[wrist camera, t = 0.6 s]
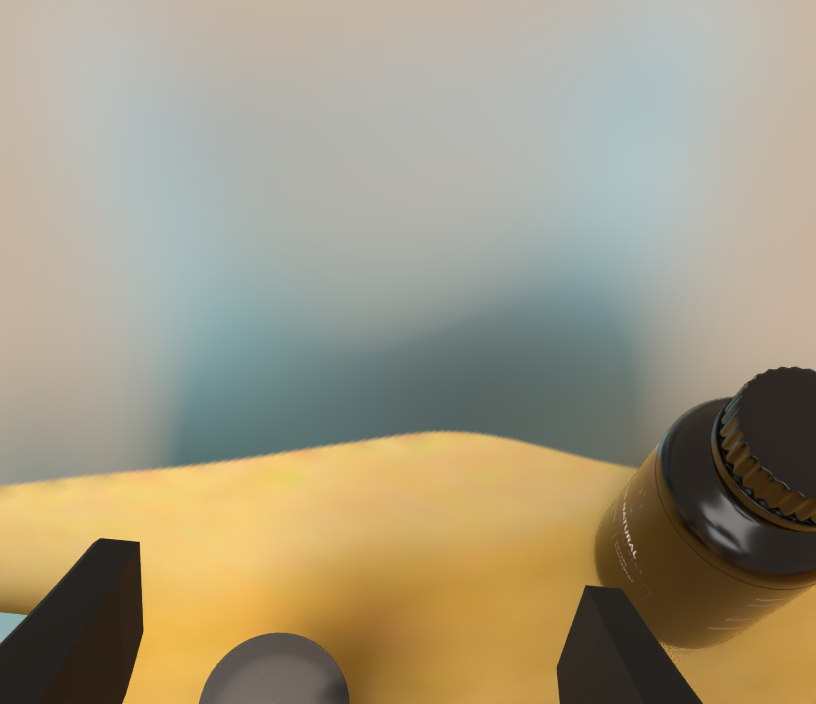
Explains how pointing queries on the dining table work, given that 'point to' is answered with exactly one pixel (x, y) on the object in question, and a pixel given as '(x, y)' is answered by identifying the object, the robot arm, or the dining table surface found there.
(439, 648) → the dining table surface
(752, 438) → the supplement bottle
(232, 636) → the dining table surface
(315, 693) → the cylinder
